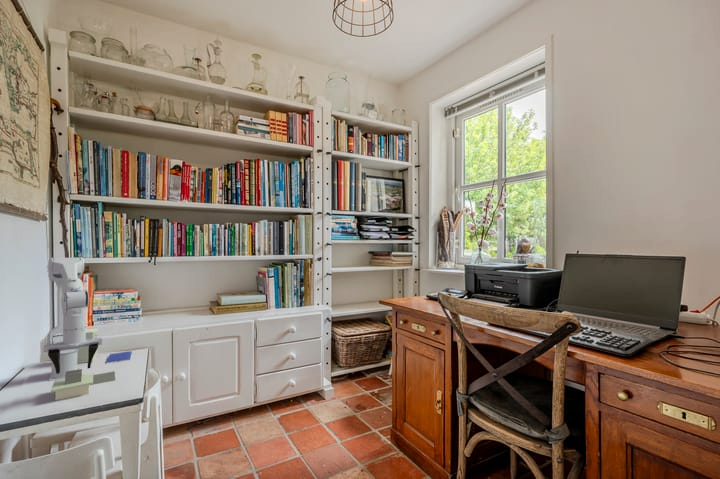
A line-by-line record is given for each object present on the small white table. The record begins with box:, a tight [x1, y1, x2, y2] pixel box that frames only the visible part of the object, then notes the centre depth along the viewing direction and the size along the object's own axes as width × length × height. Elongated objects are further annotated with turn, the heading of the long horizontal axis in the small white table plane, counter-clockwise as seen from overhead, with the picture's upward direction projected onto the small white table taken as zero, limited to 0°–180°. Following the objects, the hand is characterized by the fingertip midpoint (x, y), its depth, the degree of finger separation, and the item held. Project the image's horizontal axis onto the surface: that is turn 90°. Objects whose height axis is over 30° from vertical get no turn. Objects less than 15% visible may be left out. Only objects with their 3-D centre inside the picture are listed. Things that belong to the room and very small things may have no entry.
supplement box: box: [77, 328, 100, 364], centre depth 142 cm, size 7×7×13 cm
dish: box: [55, 385, 91, 401], centre depth 109 cm, size 8×8×4 cm
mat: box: [90, 371, 116, 386], centre depth 120 cm, size 11×11×1 cm
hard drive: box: [105, 350, 133, 364], centre depth 144 cm, size 2×8×12 cm
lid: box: [50, 368, 95, 393], centre depth 109 cm, size 10×10×4 cm
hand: (73, 370), depth 109 cm, fingers open, 7 cm apart
